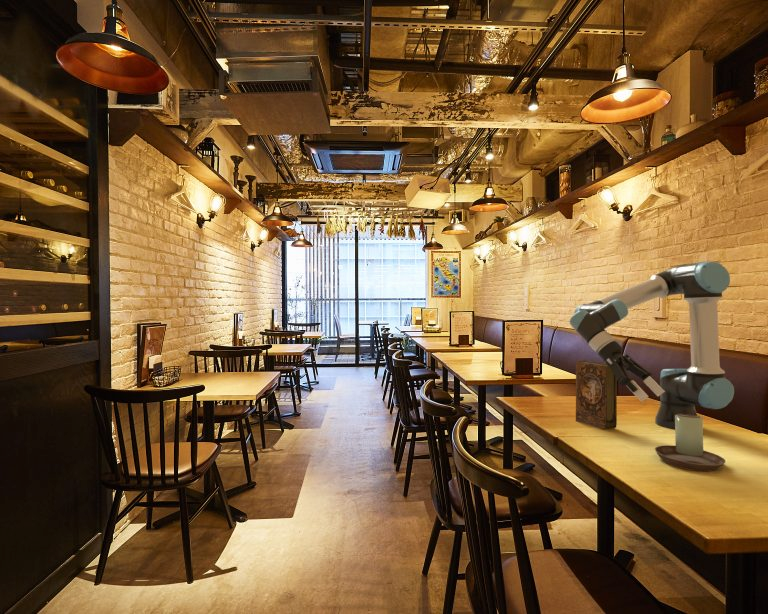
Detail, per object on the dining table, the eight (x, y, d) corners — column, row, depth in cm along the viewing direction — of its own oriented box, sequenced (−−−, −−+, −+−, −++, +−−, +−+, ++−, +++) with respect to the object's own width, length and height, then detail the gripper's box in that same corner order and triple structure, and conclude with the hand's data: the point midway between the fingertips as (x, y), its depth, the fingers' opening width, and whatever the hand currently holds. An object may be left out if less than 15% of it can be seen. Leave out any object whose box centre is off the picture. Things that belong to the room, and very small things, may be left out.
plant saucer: (720, 460, 137) (720, 450, 137) (730, 479, 122) (730, 468, 122) (654, 451, 146) (654, 441, 146) (655, 467, 131) (655, 457, 131)
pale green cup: (693, 450, 137) (692, 414, 138) (709, 456, 130) (708, 417, 131) (670, 449, 138) (670, 413, 139) (685, 455, 131) (684, 416, 132)
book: (573, 420, 185) (573, 361, 185) (583, 419, 187) (583, 360, 187) (606, 430, 169) (606, 365, 169) (616, 429, 171) (616, 365, 171)
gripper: (614, 351, 163) (659, 398, 152) (581, 356, 148) (628, 408, 136) (629, 338, 159) (676, 385, 148) (596, 341, 144) (646, 394, 132)
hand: (653, 396), depth 142 cm, fingers open, 13 cm apart
